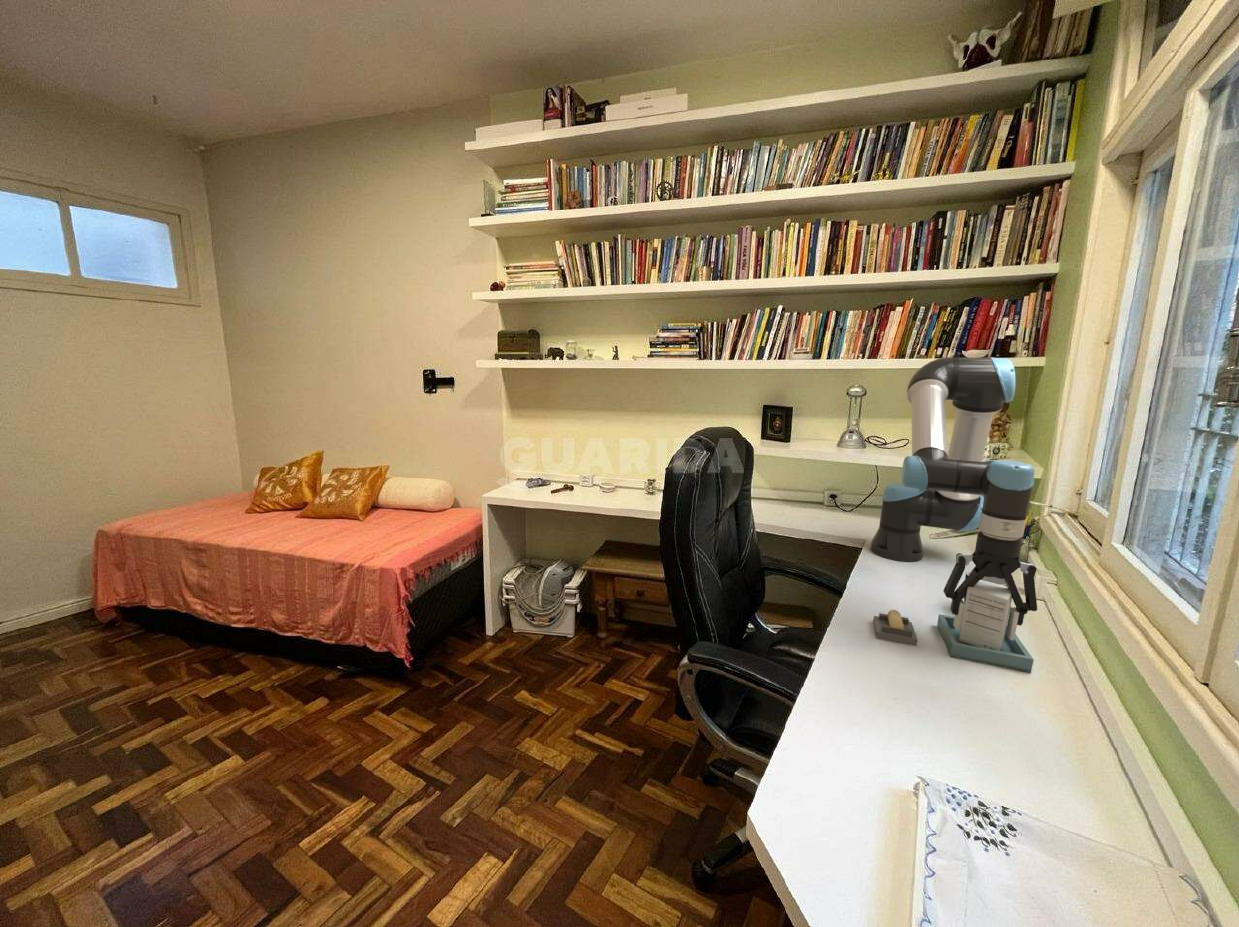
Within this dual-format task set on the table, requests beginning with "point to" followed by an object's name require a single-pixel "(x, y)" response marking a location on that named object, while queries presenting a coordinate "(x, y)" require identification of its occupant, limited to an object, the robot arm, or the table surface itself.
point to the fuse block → (894, 628)
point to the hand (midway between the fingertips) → (982, 632)
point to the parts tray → (984, 649)
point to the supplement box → (985, 615)
